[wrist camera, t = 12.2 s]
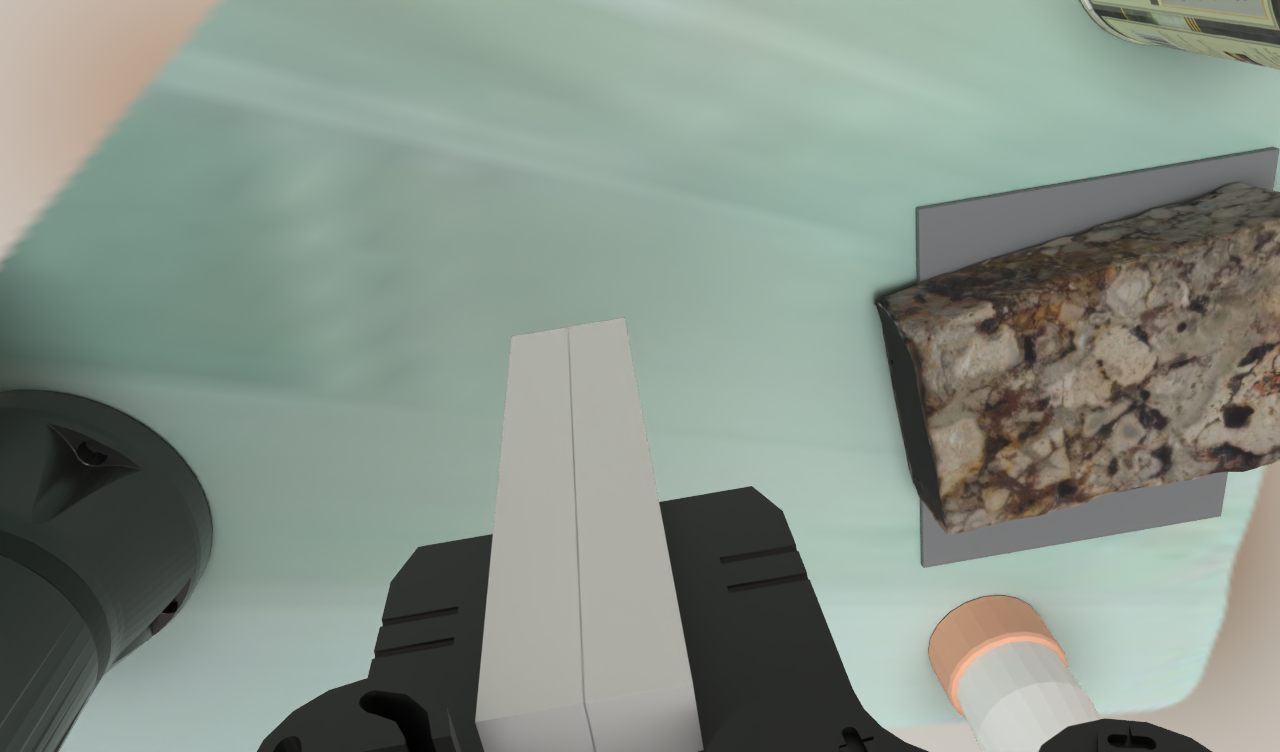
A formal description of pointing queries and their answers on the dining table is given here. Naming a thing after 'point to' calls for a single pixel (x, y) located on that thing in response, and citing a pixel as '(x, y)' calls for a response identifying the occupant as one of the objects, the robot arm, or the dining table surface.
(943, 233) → the mat
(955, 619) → the salt shaker
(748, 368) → the dining table surface
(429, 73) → the dining table surface
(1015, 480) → the stone block
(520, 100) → the dining table surface
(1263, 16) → the coffee can
